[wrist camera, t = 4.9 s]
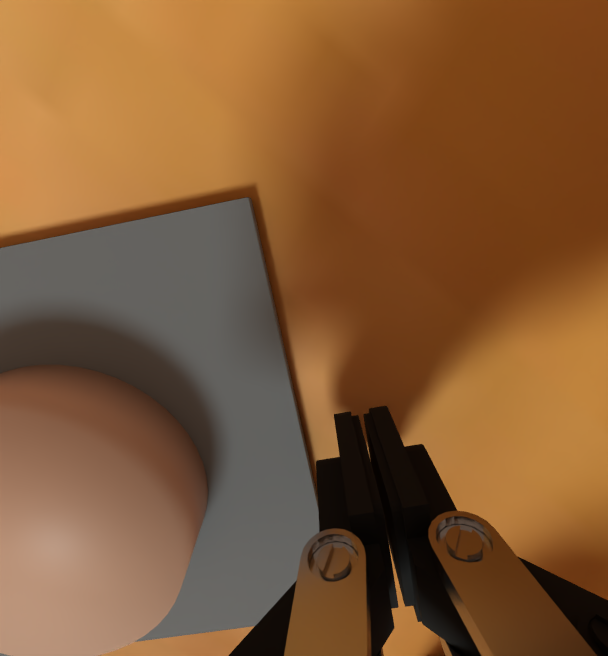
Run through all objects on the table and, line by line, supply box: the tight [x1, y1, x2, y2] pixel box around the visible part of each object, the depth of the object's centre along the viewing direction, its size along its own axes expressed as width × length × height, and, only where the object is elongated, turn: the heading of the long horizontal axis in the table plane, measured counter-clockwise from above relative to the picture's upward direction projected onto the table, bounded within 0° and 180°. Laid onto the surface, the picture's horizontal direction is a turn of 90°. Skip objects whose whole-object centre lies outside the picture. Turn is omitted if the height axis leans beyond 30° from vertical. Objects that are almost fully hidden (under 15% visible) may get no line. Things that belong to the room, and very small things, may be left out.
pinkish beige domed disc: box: [0, 365, 208, 656], centre depth 11 cm, size 9×9×3 cm
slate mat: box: [0, 197, 319, 656], centre depth 13 cm, size 16×16×1 cm
